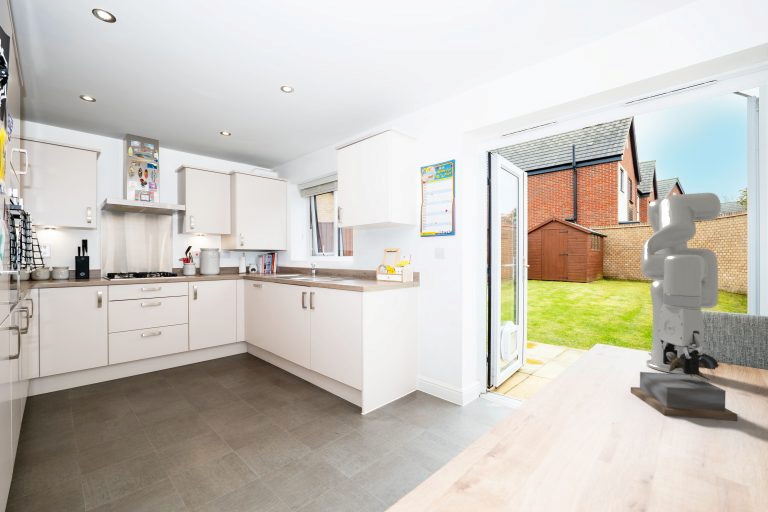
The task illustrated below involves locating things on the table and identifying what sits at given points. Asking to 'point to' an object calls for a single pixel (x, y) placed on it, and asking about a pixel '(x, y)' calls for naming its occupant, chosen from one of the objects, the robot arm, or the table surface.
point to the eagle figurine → (704, 362)
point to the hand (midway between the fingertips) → (680, 368)
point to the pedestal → (682, 396)
